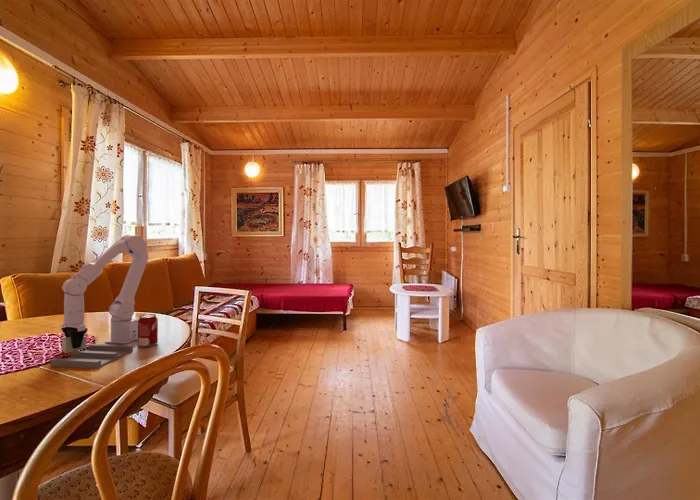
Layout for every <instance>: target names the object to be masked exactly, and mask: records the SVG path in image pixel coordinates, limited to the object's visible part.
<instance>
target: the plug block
mask: <svg viewBox="0 0 700 500" xmlns="http://www.w3.org/2000/svg"><path fill="white" fill-rule="evenodd" d="M61 345H62V346H61V352H62V351H63V352H62V353H64V354H66V353H67V354H71V353H70V352H72V351H75V350H76V351H78V350H81V351H84V350H83V349H85V350H87V336H86V335H84V337H83V340H82V344H81V347H79V348H75V349H73V347H72V343H71V338H70V337H67V338H66V337H63V338H61Z"/></svg>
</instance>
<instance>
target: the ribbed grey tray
mask: <svg viewBox="0 0 700 500" xmlns="http://www.w3.org/2000/svg"><path fill="white" fill-rule="evenodd" d="M133 347H134V346H133V345H132V344H131V345H129V344H126V345H125V344H110V343H104V344H103V343H90V344H88V349H85V350H81V351H76V350H75V351H72V352H71V353H70V356H68V357H66V358H62V357H60V358H59V357H55V358H52V359H50V367H56V368H74V369H75V368H76V369H77V368H78V369H79V368H80V369H100V368H101V367H104V366H106V365H108V364H109V363H111V362H113V361H114V362H115V360H118V359H119V358H122V357H124V356H126V355H128V354H130V353H132V352H134V351H133Z"/></svg>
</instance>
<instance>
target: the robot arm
mask: <svg viewBox="0 0 700 500" xmlns="http://www.w3.org/2000/svg"><path fill="white" fill-rule="evenodd" d="M147 245H148V243H147V241H146V240H145V239H144V238H143V237H142V236H141V235H135V234H134V235H130V234H125V235H122V236H121V238H120V239H118V240H116V241H115V242H114V243H113V244H112V245H111V246H110V247H109V248H108V249H107V250H105V252H104V253H102V254H101V255H100V256H99V257H98V258H97V259H96V260H95V261H94V262H88V263H87V264H83V265H82V266H81V268H80V270H78V271H77V272H76V273H75V274H72V275H70V277H71V278H69V279H67V280H65V281H64V282H63V283H62V286H61V290H62V291H63V292H64V295H63V296H64V299H63V323H60V324H59V327H61V328H60V330H61V331H62V333H63V334H64V338H67V337H70V338H71V343H72V347H73V349H75V348H79V347H81V344H82V340H83V337H84V336H86V333H87V332H88V330H89V329H88V328H87V327H86V324H85V323H86V320H85V297H84V296H85V294H84V293H85V292H86V291H87V288H88V286H89V285H90V284H91V283H92V282H94V281H95V280H96V279H97V278H98V277H99V276H100V275H101V274H102V273H103V268H104V267H105V266H106V265H108V264H109V263H110V262H111V261H112V260H113V259H115V258H116V257H118V256H119V255H120V254H124V253H128V254H129V255H130V256H131V258H132V261H131V264H130V266H129V268H128V271H127V274H126V276H125V279H124V281H123V284H122V287H121V289H120V292H119V295H117V296H116V297H115V299H114V302H112V303H111V305H110V306H109V307H108V313H109V314H110V315H111V317H110V339H108V340H106V341H104V344H122V345H125V344H126V345H128V344H129V343H133V342H134V341H136V340H137V341H138V320H137V319H134V318H133V316H134V315H135V304H136V301H135V296H136V293H137V290H138V288H139V285H140V282H141V280H142V277H143V275H144V271H145V269H146V267H147V263H148V262H149V261H148V260H149V252H148V248H147Z"/></svg>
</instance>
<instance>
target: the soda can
mask: <svg viewBox="0 0 700 500" xmlns="http://www.w3.org/2000/svg"><path fill="white" fill-rule="evenodd" d="M137 321H138V339H137V346H139V347H140V348H150V346H151V347H154V346H155V345H157V344H158V339H159V338H158V330H159V327H158V323H159V321H158V317H157V314H154V313H146V314H141V315H140V316H139V319H138V320H137ZM153 345H154V346H153Z"/></svg>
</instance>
